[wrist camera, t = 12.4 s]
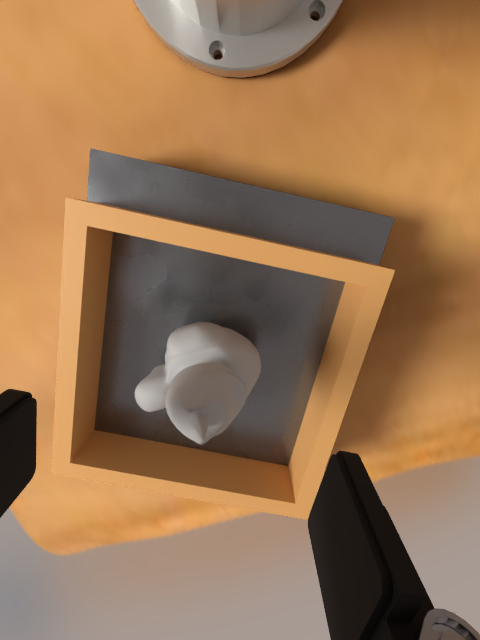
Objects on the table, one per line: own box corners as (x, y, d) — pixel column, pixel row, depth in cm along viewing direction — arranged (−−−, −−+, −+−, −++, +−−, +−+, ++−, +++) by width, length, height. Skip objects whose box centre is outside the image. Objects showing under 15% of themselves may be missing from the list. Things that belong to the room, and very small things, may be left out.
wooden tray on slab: (120, 163, 20) (56, 131, 13) (366, 219, 21) (426, 216, 14) (94, 432, 25) (40, 506, 19) (288, 468, 26) (304, 552, 19)
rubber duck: (269, 382, 20) (286, 485, 12) (169, 408, 20) (122, 521, 12) (245, 300, 18) (246, 356, 10) (137, 330, 19) (63, 404, 11)
